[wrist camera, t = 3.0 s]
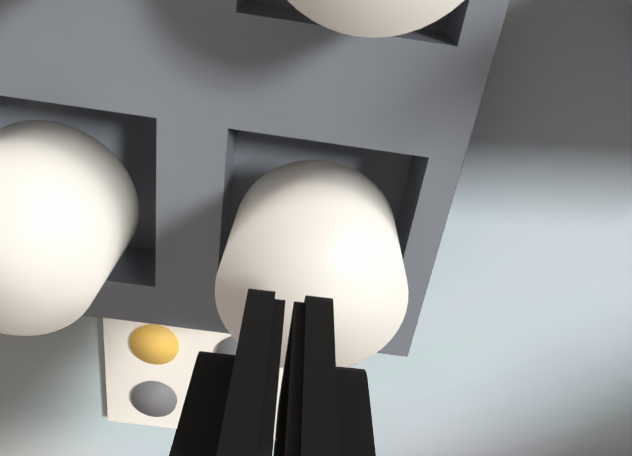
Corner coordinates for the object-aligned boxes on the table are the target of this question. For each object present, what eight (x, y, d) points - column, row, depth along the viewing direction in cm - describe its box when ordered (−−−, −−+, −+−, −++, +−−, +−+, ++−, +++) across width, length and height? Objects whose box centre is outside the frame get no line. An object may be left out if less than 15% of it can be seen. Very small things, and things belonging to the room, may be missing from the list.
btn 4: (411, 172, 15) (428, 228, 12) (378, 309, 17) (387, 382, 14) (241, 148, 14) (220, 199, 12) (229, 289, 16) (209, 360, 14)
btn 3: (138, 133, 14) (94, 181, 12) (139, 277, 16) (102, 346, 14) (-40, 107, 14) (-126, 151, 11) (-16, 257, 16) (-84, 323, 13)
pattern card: (296, 320, 21) (295, 330, 20) (278, 433, 24) (277, 443, 23) (106, 295, 21) (100, 304, 20) (111, 413, 23) (106, 423, 23)
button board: (546, -272, 13) (603, -323, 10) (397, 300, 20) (407, 356, 18) (-88, -388, 12) (-205, -474, 9) (3, 248, 20) (-48, 298, 17)
